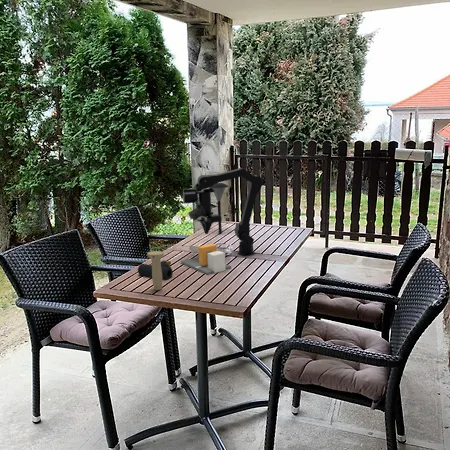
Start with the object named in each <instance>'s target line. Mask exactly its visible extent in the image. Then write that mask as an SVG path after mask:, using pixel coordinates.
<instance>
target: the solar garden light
mask: <svg viewBox="0 0 450 450" xmlns="http://www.w3.org/2000/svg"><path fill="white" fill-rule="evenodd" d="M229 187H230V186H229V185H227V184H225V183H223V182H219V183H217V184H215V185H213V186H211V188H212V189H213V190H214V191H215V192H213V195H214V196H215V198H216V200H217V215H220V216H221V217H222V207H221V206H222V205H221V201H222V198H223V196H224V192H225V190H226V188H229ZM209 188H210V187H209ZM209 188H208V189H209ZM217 223H218V234H219V235H222V233H223V231H222V230H223V229H222V221H219V222H217Z"/></svg>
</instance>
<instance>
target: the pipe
mask: <svg viewBox="0 0 450 450" xmlns="http://www.w3.org/2000/svg"><path fill="white" fill-rule="evenodd" d="M188 249H189V251H191V252H194V253H197V254H198V247H195V246H192V245H190V246H189V248H188ZM207 253H209V252H207Z"/></svg>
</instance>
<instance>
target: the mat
mask: <svg viewBox="0 0 450 450" xmlns="http://www.w3.org/2000/svg"><path fill="white" fill-rule="evenodd" d="M180 264H182V265H184V266H186V267H189V268H191V269H193V270H196V271H198V272H199V273H200V272H201V273H203V274H205V275H212V274H215V273H214V271H213V270H211V269H208V264H206V265H201V264H199V256H198V257H194V258H189V259H185V260H181V261H180ZM225 268H226V270H230V269H232V265H229V264H226V263H225ZM226 270H225V271H226Z"/></svg>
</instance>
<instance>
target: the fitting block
mask: <svg viewBox="0 0 450 450" xmlns="http://www.w3.org/2000/svg"><path fill="white" fill-rule="evenodd" d="M207 257H208V269H211V270H213V271H214V273H213V274H217V273H220V272H223V271H226V268H225V264H226V253H225V252H224V251H220V250H217V251H215V252H211V253H207Z"/></svg>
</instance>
